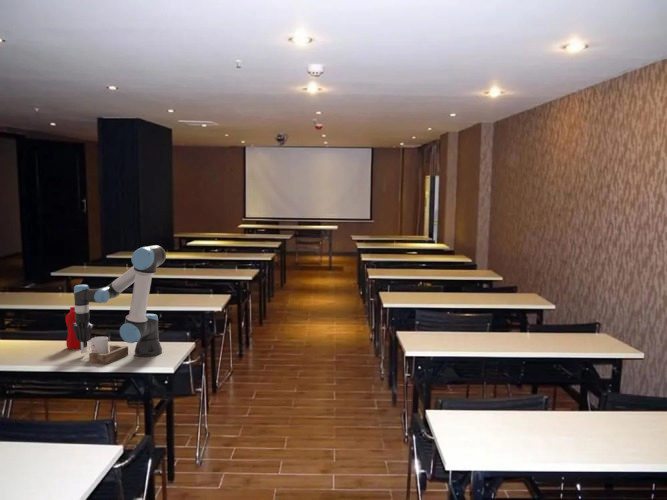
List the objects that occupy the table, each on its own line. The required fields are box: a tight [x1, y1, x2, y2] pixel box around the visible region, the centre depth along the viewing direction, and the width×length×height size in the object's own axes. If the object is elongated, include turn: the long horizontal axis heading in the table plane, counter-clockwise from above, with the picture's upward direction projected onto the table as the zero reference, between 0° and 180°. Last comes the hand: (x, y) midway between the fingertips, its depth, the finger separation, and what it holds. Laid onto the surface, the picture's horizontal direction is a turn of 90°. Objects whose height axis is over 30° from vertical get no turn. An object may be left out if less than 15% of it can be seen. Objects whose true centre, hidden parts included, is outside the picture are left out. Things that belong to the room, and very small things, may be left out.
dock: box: [88, 344, 129, 365], centre depth 328 cm, size 11×19×5 cm, turn 163°
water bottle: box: [65, 306, 81, 351], centre depth 350 cm, size 9×11×25 cm
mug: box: [87, 336, 110, 354], centre depth 330 cm, size 12×9×11 cm
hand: (83, 352), depth 333 cm, fingers closed
